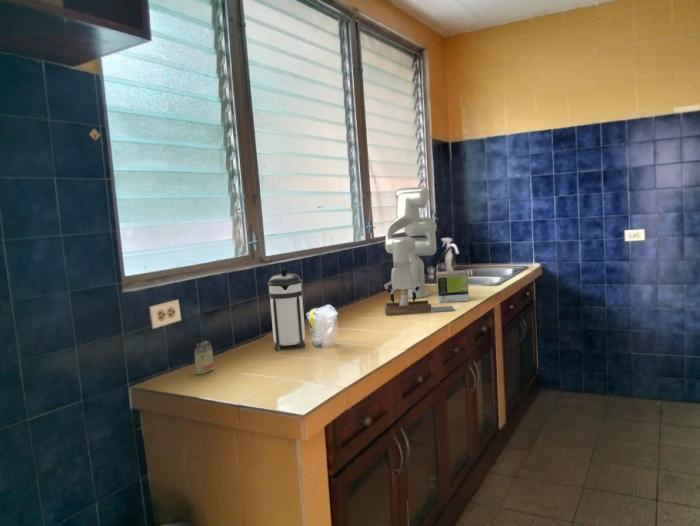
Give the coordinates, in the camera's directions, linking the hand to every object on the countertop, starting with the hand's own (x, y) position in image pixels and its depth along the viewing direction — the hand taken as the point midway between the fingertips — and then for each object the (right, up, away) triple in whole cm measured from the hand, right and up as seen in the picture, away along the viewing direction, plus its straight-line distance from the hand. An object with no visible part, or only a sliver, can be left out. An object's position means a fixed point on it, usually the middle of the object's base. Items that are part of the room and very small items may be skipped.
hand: (403, 301), depth 258 cm
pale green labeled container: (-73, -18, -74) cm, 106 cm away
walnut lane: (+2, -5, +1) cm, 6 cm away
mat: (+18, -4, +1) cm, 19 cm away
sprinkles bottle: (0, -5, +1) cm, 5 cm away
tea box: (+27, -1, +23) cm, 35 cm away
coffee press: (-48, -14, -47) cm, 69 cm away
